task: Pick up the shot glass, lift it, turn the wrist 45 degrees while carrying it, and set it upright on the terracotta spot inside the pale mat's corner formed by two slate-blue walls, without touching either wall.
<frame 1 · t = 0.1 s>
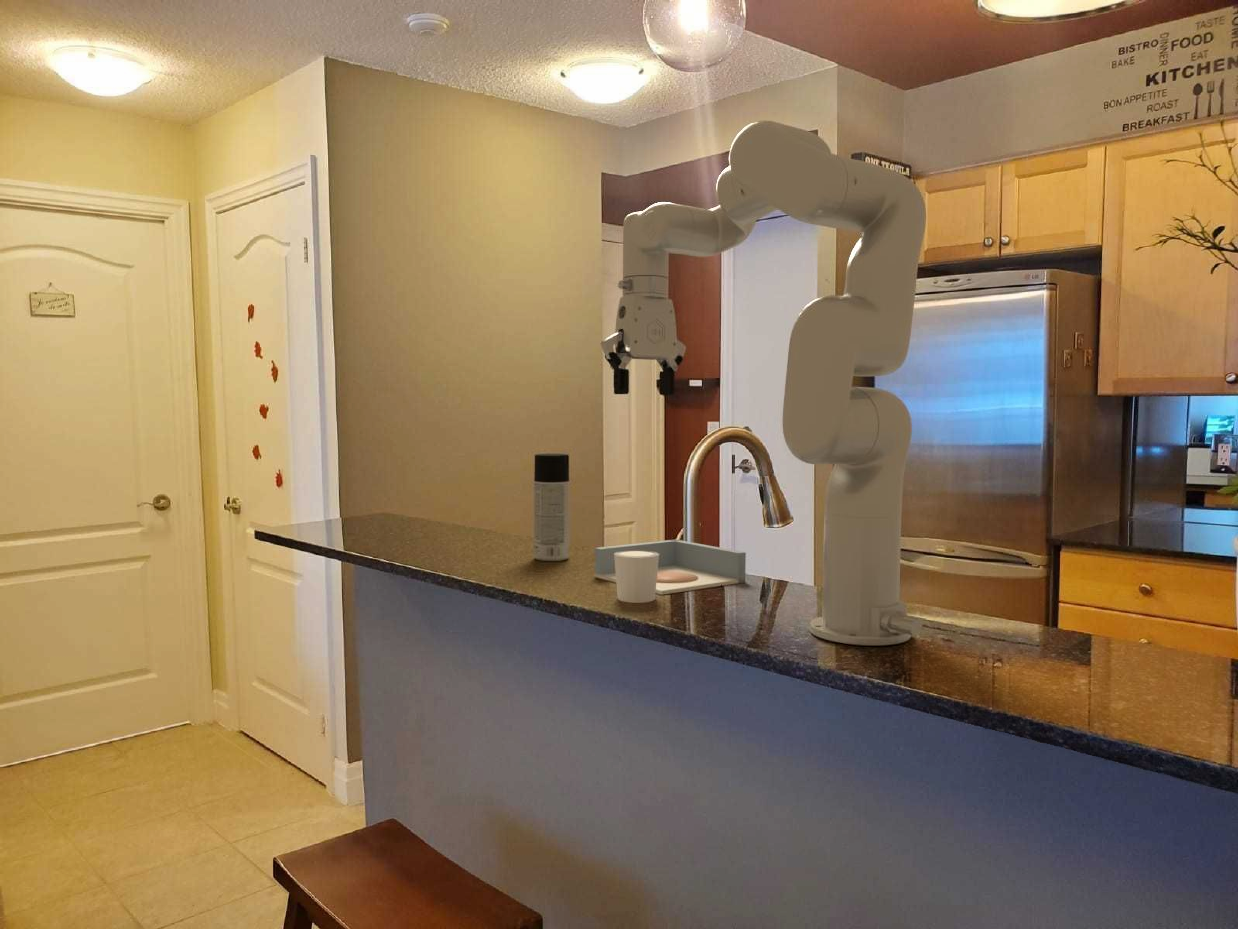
hand: (644, 394, 152), 31 cm above the table, tool pointing down, fingers open, 9 cm apart
spray can: (551, 560, 175), on the table
arena: (669, 579, 155), on the table
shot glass: (636, 600, 139), on the table
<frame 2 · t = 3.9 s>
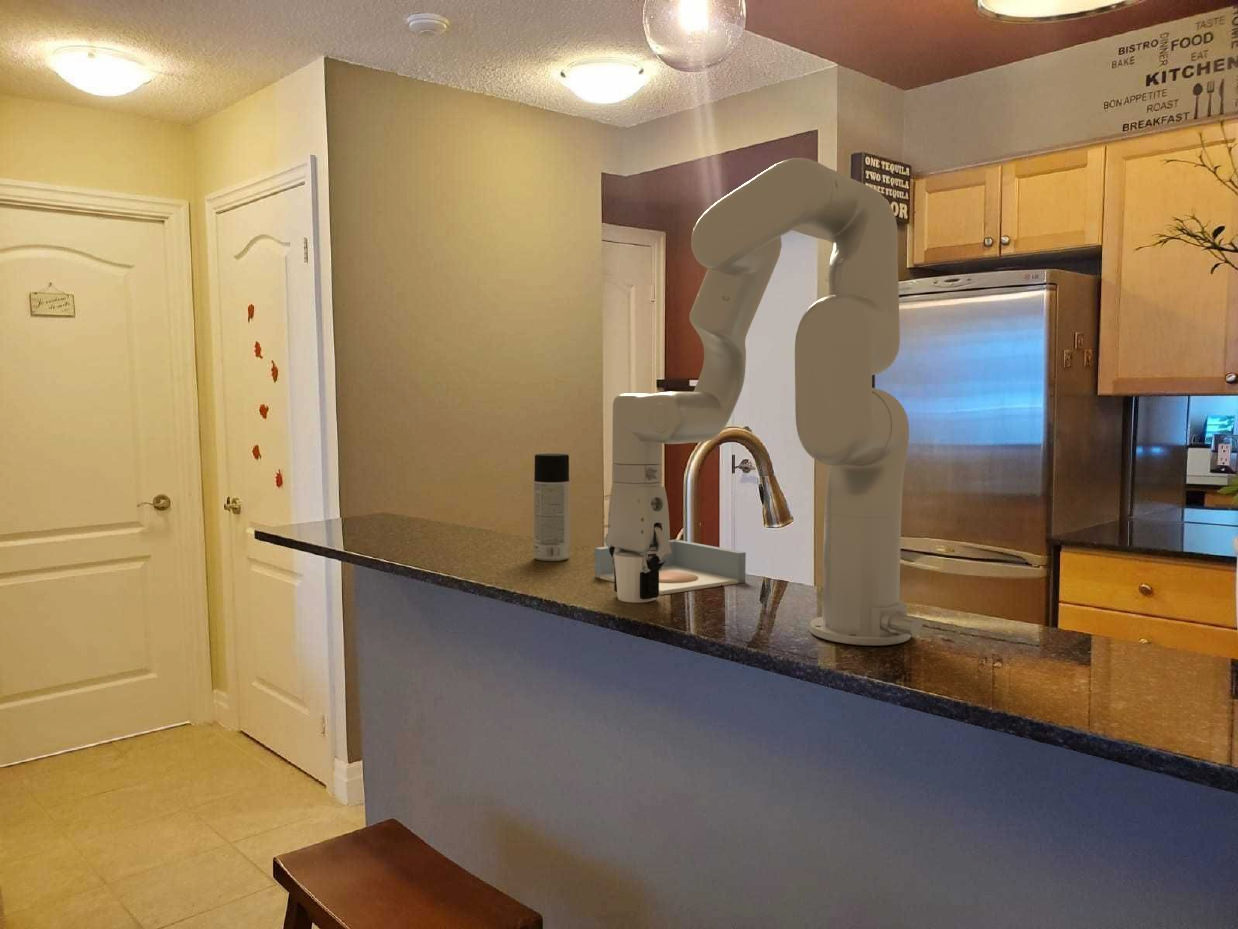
hand: (636, 593, 139), 1 cm above the table, tool pointing down, fingers closed on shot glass, 5 cm apart
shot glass: (636, 599, 139), on the table, touching gripper
everything else where it was.
when the fingers open (3 cm above the table, at t = 9.9 s): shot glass drops 1 cm, resting on arena.
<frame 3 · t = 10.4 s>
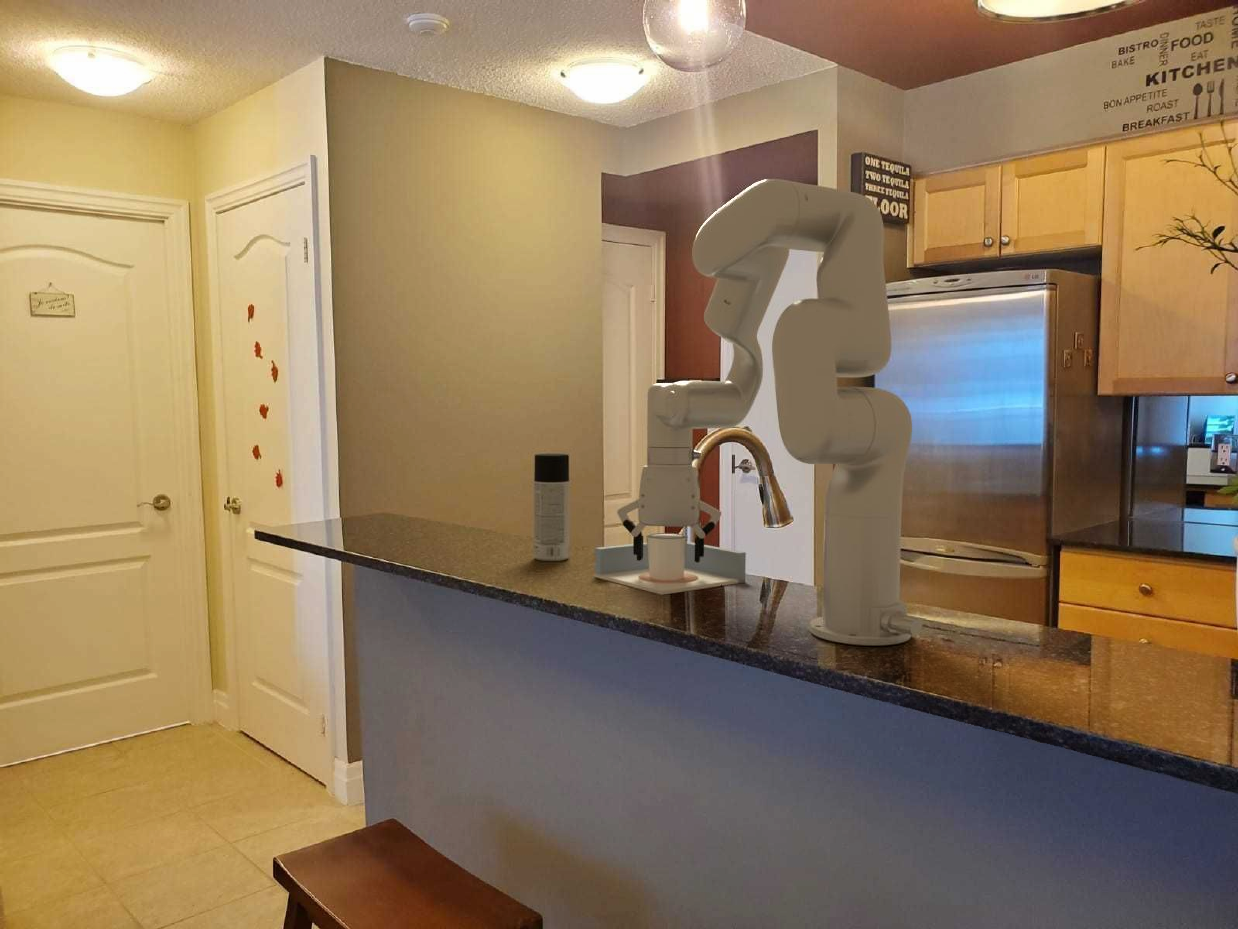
hand: (668, 560, 153), 4 cm above the table, tool pointing down, fingers open, 9 cm apart
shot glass: (666, 578, 153), point 1 cm above the table, touching arena
everything else where it was.
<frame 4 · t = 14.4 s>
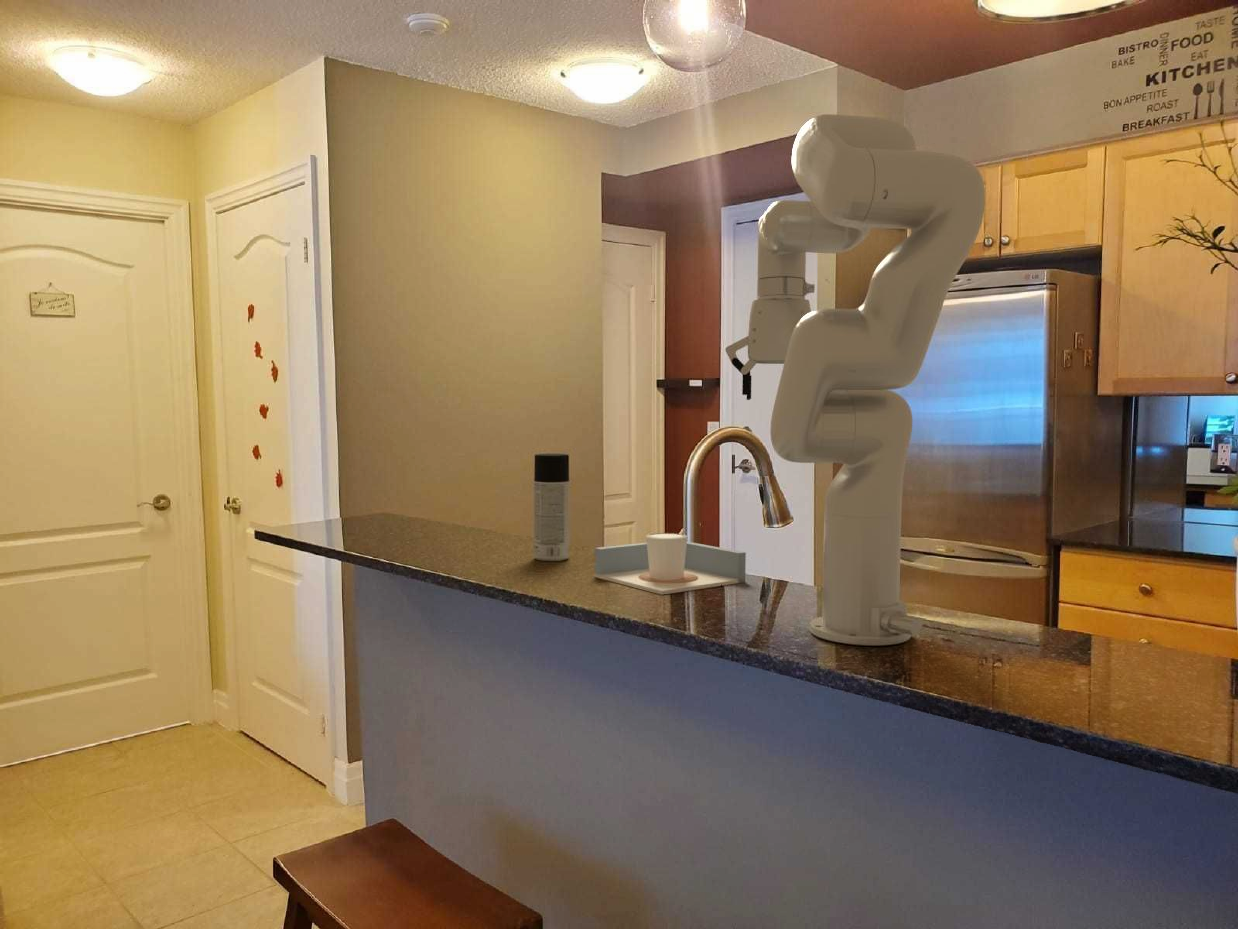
hand: (779, 399, 147), 30 cm above the table, tool pointing down, fingers open, 9 cm apart
nothing on the table moved.
at the end: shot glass 0.3 cm from the target spot on the arena, point 0.5 cm above the arena's base; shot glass tilted 0°; the gripper is holding nothing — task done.
